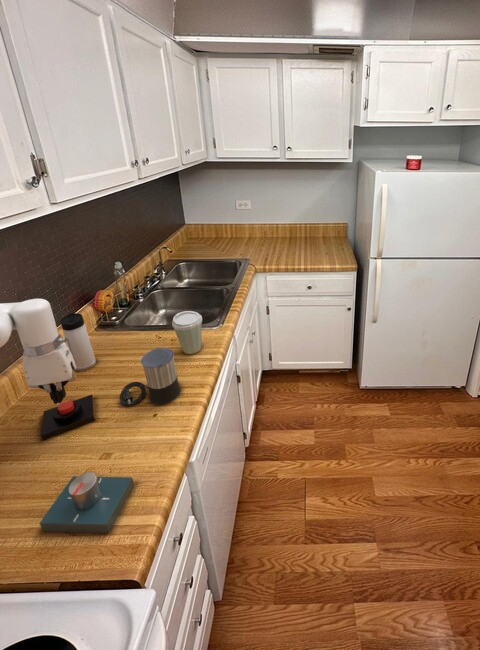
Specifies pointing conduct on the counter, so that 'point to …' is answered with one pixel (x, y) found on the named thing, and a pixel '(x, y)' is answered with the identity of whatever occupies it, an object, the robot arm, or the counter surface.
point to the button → (66, 407)
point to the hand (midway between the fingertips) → (59, 399)
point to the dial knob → (85, 491)
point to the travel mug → (78, 341)
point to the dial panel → (94, 518)
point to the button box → (68, 418)
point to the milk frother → (156, 379)
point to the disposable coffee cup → (188, 330)
